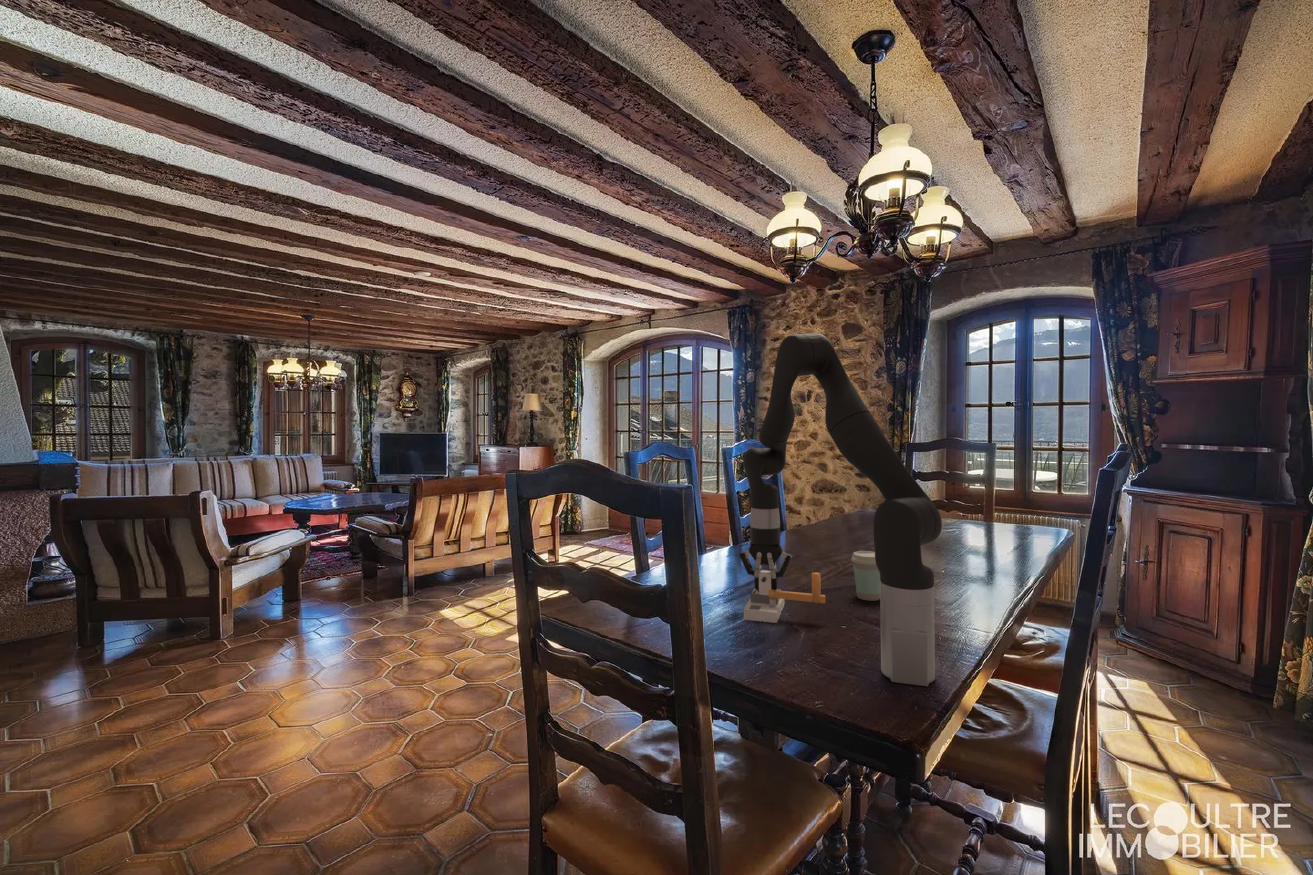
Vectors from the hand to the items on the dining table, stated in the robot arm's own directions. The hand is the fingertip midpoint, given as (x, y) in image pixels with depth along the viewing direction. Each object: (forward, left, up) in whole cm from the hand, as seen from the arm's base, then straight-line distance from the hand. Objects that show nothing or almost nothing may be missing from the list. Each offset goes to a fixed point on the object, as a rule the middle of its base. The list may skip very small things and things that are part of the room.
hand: (766, 591), depth 142 cm
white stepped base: (-2, 0, -5) cm, 5 cm away
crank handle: (-5, -8, 0) cm, 10 cm away
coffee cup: (+18, -25, -5) cm, 31 cm away
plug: (0, 0, -2) cm, 2 cm away
